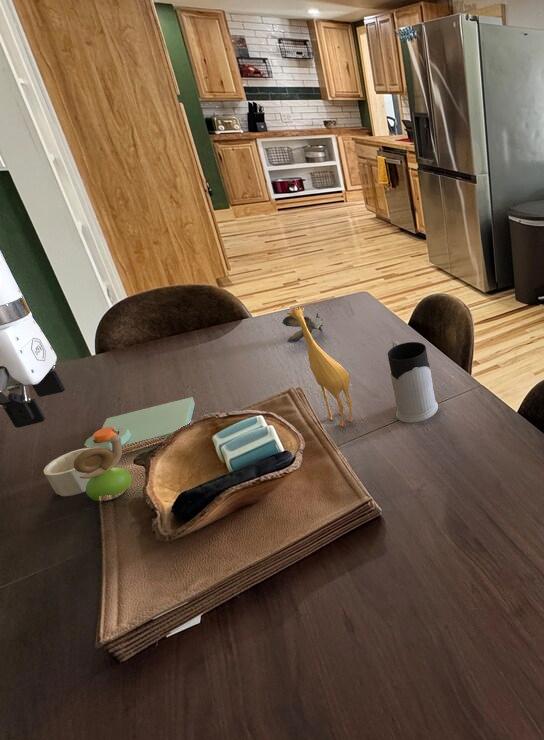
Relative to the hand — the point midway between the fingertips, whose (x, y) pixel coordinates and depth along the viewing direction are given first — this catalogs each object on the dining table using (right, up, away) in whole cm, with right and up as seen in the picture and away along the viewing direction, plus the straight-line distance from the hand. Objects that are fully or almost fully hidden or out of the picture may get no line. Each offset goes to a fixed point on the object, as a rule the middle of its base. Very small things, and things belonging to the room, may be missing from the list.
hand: (42, 407), depth 78 cm
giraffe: (+35, -8, +24) cm, 43 cm away
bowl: (0, -15, +6) cm, 16 cm away
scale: (-1, -10, +19) cm, 21 cm away
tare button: (-2, -9, +12) cm, 16 cm away
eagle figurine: (+8, +6, +57) cm, 58 cm away
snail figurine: (+9, -16, +4) cm, 19 cm away
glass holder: (+50, -6, +28) cm, 58 cm away
